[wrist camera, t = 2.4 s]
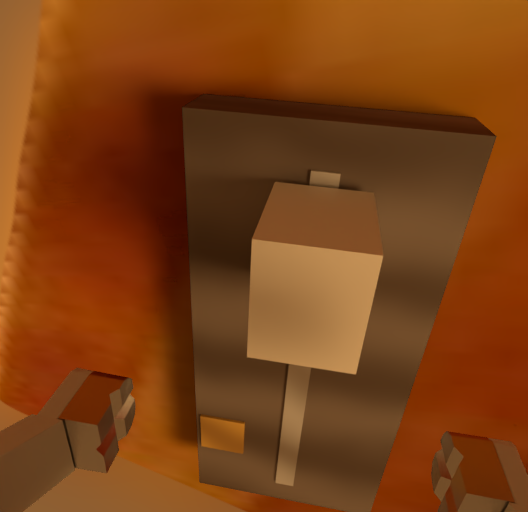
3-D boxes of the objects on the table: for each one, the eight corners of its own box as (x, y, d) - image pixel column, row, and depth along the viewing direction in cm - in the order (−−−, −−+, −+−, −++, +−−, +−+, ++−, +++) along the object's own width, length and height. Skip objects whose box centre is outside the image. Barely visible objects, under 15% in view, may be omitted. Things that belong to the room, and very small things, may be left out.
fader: (274, 181, 17) (251, 239, 13) (374, 192, 17) (383, 256, 13) (268, 282, 20) (246, 357, 16) (353, 294, 19) (355, 374, 15)
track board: (203, 94, 19) (180, 108, 17) (475, 118, 18) (497, 137, 15) (210, 445, 33) (198, 484, 30) (367, 474, 32) (369, 518, 29)
